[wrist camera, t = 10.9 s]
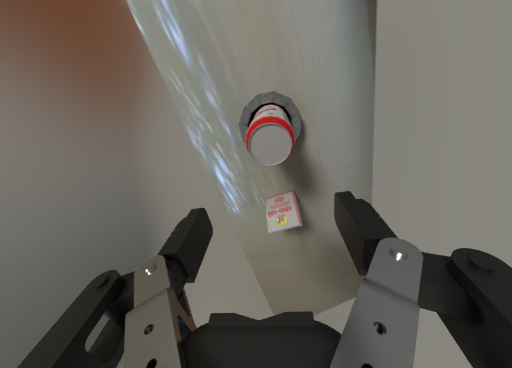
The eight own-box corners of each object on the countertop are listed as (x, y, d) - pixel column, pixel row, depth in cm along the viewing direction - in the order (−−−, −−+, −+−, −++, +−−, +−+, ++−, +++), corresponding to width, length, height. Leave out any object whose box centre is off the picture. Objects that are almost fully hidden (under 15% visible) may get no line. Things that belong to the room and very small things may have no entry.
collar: (230, 120, 36) (227, 123, 33) (275, 77, 32) (275, 77, 29) (266, 160, 39) (265, 166, 37) (309, 127, 35) (313, 130, 32)
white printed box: (298, 202, 44) (304, 232, 35) (271, 209, 45) (271, 239, 37) (293, 190, 42) (299, 217, 34) (266, 198, 44) (265, 226, 35)
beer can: (293, 124, 35) (307, 151, 21) (267, 143, 37) (264, 179, 23) (274, 96, 33) (276, 104, 19) (248, 117, 35) (232, 140, 21)
